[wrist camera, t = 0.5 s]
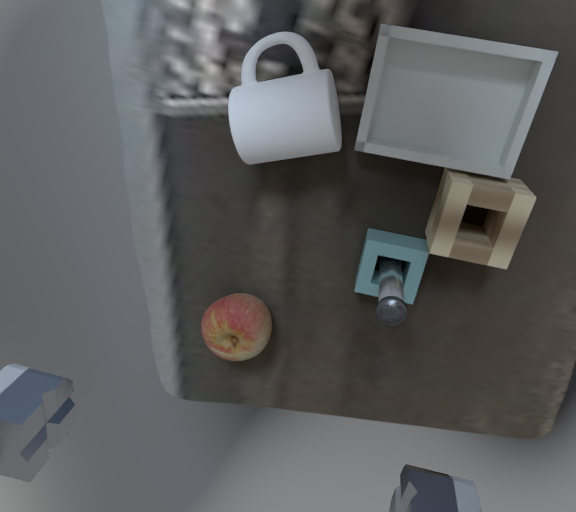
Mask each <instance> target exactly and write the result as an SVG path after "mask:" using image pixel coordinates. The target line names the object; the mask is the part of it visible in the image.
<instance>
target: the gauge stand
mask: <svg viewBox="0 0 576 512" xmlns="http://www.w3.org/2000/svg"><path fill="white" fill-rule="evenodd" d="M378 255H380V256H385V257H390V258H394V259H399V260H404V261H406V263H405V267H404V270H403V273H402V279H403V292H404V302H405V303H408V304H413V302H414V299H415V296H416V293H417V290H418V287H419V283H420V280H421V277H422V274H423V271H424V268H425V265H426V262H427V259H428V255H429V249H428V244H427V240H425V239H421V238H416V237H411V236H406V235H401V234H396V233H391V232H386V231H381V230H377V229H372V228H368V230H367V234H366V238H365V243H364V247H363V251H362V255H361V259H360V263H359V267H358V271H357V275H356V281H355V290H354V292H358V293H362V294H367V295H372V296H376V297H379V271H376V270H374V268H375V264H376V261H377V257H378Z"/></svg>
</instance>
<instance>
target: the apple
mask: <svg viewBox="0 0 576 512" xmlns="http://www.w3.org/2000/svg"><path fill="white" fill-rule="evenodd" d="M271 330H272V319H271V315H270V311H269V309H268V307H267V306H266V304H265V303H264V302H263V301H262V300H261V299H260V298H258V297H256V296H254V295H251V294H247V293H235V294H231V295H228V296H226V297H223V298H221V299H219V300H217V301H216V302H214V303H213V304H212V305H210V306H209V307H208V309H207V310H206V311H205V313H204V315H203V318H202V322H201V332H202V336H203V339H204V341H205V343H206V345H207V346H208V348H209V349H210V350H211V351H212V352H213V353H214V354H215V355H217V356H218V357H220V358H222V359H225V360H230V361H243V360H246V359H250V358H252V357H255V356H256V355H258V354H259V353H260V352H261V351H262V350H263V349H264V348H265V346H266V344H267V343H268V340H269V338H270V335H271Z"/></svg>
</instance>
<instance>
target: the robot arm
mask: <svg viewBox="0 0 576 512" xmlns="http://www.w3.org/2000/svg"><path fill="white" fill-rule="evenodd" d="M73 392H74V387H73V381H72V380H70V379H68V378H64V377H61V376H57V375H54V374H50V373H47V372H44V371H40V370H37V369H33V368H29V367H25V366H22V365H18V364H14V363H13V364H11V365H8V366H6V367H5V368H3V369H2V370H1V371H0V475H3V476H8V477H12V478H15V479H20V480H24V481H27V482H31V480H32V479H33V478H34V477H35V475H36V474H37V472H38V471H39V470H40V469H41V468H42V467H43V465H44V464H45V463H46V462H47V460H48V459H49V449H50V448H52V447H54V446H56V445H58V444H60V443H62V441H63V440H64V439H65V437H66V436H67V435H68V433H69V431H70V429H71V427H72V425H73V422H74V419H75V413H76V410H75V404H74V402H73V401H72V400H71V398H70V397H69V396H70V395H71V394H72V393H73ZM400 482H401V483H400V484H401V486H399V487H397V488H396V489H395V490H394V493H393V497H392V500H391V505H390V511H389V512H482V510H481V505H480V501H479V496H478V492H477V487H476V485H475V483H474V482H473V481H471V480H467V479H462V478H459V477H454V476H449V475H447V474H443V473H439V472H435V471H431V470H427V469H423V468H418V467H414V466H410V465H405V466H404V468H403V470H402V472H401V475H400Z"/></svg>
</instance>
